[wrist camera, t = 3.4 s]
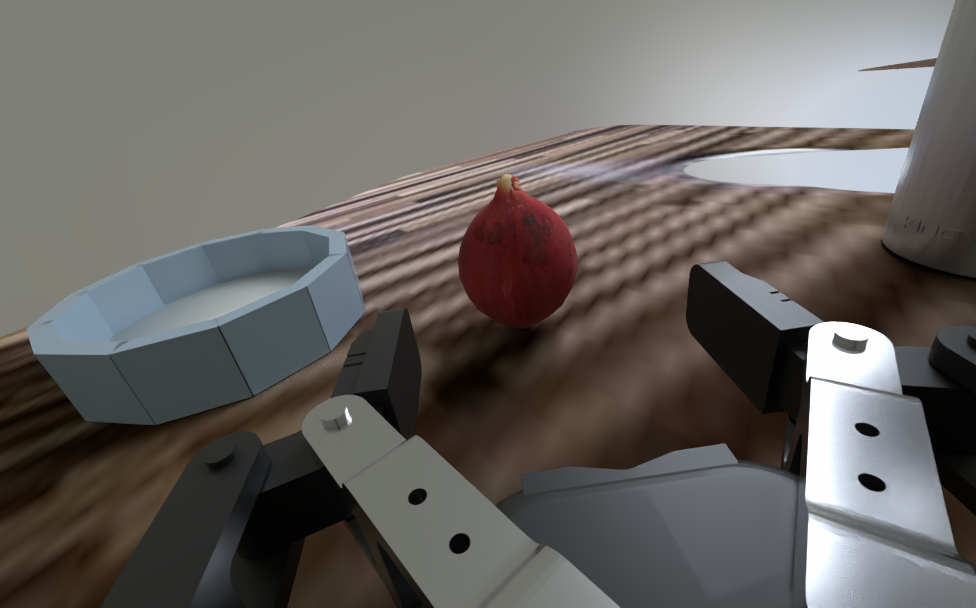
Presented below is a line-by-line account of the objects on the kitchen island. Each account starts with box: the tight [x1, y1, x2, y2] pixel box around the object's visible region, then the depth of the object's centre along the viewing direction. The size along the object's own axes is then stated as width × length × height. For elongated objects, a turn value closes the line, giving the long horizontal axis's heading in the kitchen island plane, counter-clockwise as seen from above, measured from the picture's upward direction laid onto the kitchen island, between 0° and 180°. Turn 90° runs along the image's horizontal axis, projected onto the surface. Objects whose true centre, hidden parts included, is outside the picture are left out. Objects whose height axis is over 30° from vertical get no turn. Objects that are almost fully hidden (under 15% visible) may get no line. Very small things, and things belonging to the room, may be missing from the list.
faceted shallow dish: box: [27, 225, 365, 425], centre depth 27 cm, size 16×16×4 cm
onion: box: [458, 174, 578, 329], centre depth 21 cm, size 6×6×8 cm
